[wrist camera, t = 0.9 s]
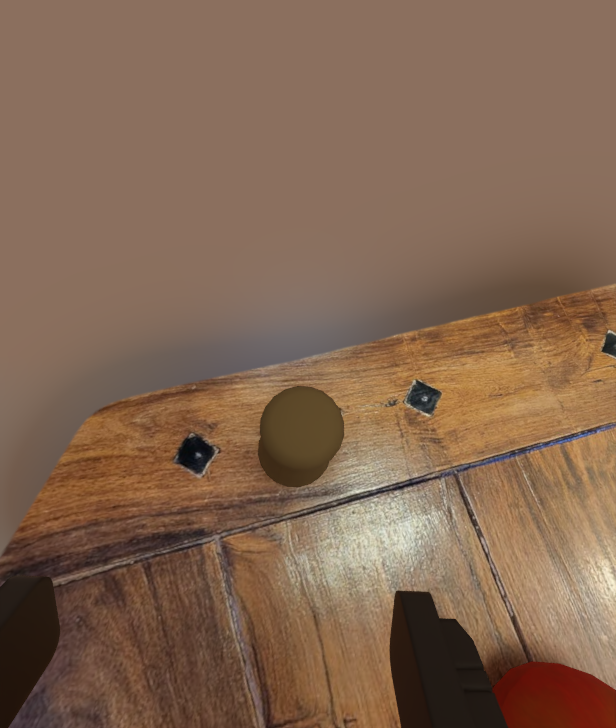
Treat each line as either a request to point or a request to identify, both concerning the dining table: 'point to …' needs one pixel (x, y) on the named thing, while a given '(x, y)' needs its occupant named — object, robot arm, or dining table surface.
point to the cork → (299, 435)
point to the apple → (554, 698)
